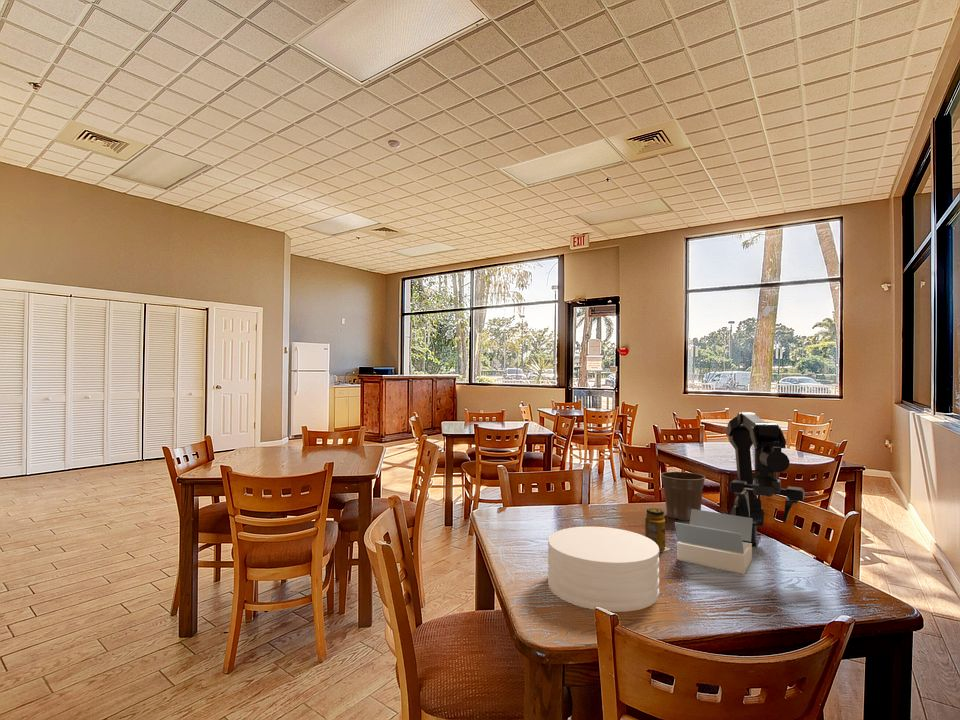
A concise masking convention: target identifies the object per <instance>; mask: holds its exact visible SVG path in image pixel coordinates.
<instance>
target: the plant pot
mask: <svg viewBox="0 0 960 720" xmlns="http://www.w3.org/2000/svg"><path fill="white" fill-rule="evenodd" d="M660 477H661V479H662V485H663V489H664V491H663V492H664V499H665V500H664V501H665V509H666V516H667V517H668V518H671V519H674V520H676V519H678V520H680V521H687V522H690V516H691V509H696V510H702V499H703V488H704V485H705V480H706V476H705V475H703V474H700V473H696V472H695V473H694V472H688V471H666V472H661V473H660Z"/></svg>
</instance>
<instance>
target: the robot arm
mask: <svg viewBox="0 0 960 720" xmlns="http://www.w3.org/2000/svg"><path fill="white" fill-rule="evenodd" d="M726 434H727V435H726V436H727V437H728V441H729V443H730V444H731V446H732V447H733V449H734V451H735V462H736V463H735V465H736V475H737V477H736V478H737V479H733V480H732V481H731V482H730V483H729V487H728V488H729V489H728V490H729V492H730V493H734V496H736V497H735V499H734V502H733V503H734V504H733V507H732V509H731V511H730V514H729V515H735V516H741V517H748V518H753V521H752V535H751V542H749V541H743V540H742V541H743V542H746V543H751V544H752V547H757V546H758V544H759V543H760V540H759V539H757V527H758V526H759V527H763V526H764V519H765V514H766V513H765V511H764V509H763V507H762V500H761V499H760V497H758V496H762V497H763V496H765V497H771V498H772V497H773V495H779V496H786V498H785V502H784V511H783V519H782V520H783V523H784V524H785V523H786V522H787V519H788V516H789V512H790V511H791V508H792V507H793V504H798V503H799V502H804V499H805V489H804V488H803V487H800V486H799V487H798V486H790V485H788V486H787V487H786V488H782V483H781V479H779V478H778V473H782V472H785V471H786V470H787V469H789V467H790V461H791V460H789V459H790V458H789V457H788V455H787V454H786V453H784V452H782V449H787V448H786V444H787V441H786V438H785V435H784V432H783V431H782V428H781V427H780V426H779V425H778V423H776V422H770V421H769V422H768V421H764V420H763V419H762V418H760V416H757V414H756V413H755V412H752V411H751V412H750V411H740V412H738V413H737V415H736V416H735V417H733V418H731V419H730V420H729V421H728V424H727V426H726ZM752 446H753V447H754V473H753V466H752V464H753V463H752V455H751V448H752ZM753 475H754V476H753Z"/></svg>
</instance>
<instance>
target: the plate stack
mask: <svg viewBox="0 0 960 720" xmlns="http://www.w3.org/2000/svg"><path fill="white" fill-rule="evenodd" d="M547 547H548V549H547V556H548V557H547V558H548V559H547V566H548V567H547V576H548V577H547V586H548V585H549V586H548V588H549V590H550V589H551V590H550V591H551V593H553V594H554V595H555V596H556V595H557V596H556V597H558V598H559V597H560V598H559V599H561V600H563V601H564V600H565V601H564V602H566V603H569V604H571V603H572V605H574V606H576V607H580V608H584V609H588V608H589V610H594V607H595V606H601V607H603V608H606V609H608V610H609V611H608V612H611V611H612V612H611V613H613V612H614V613H615V612H618V613H619V612H621V613H622V612H633V611H638V610H643V609H645V608H648V607H650V606H652V605H654V604H655V603H656V602H658V600H659V598H660V557H659V556H660V552H659V547H658V545H657V544H656V543H655V542H654V541H653V540H651V539H649V538H647V537H645V535H643V534H639V533H636V532H633V531H630V530H626V529H621V528H614V527H606V526H605V527H603V526H575V527H574V526H573V527H568V528H563V529H560V530H557V531H555V532H553V533H551V535H550V536H548V539H547Z"/></svg>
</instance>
